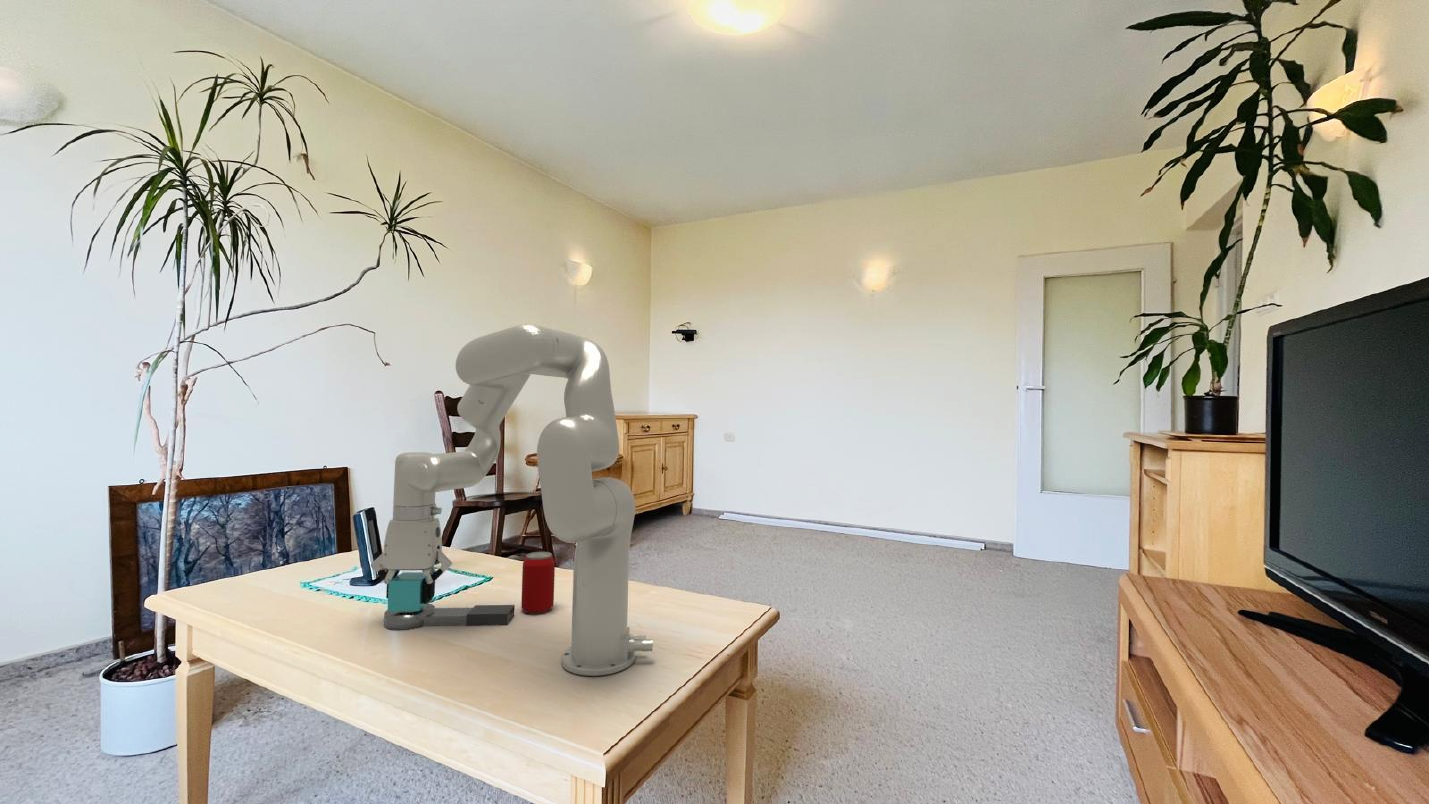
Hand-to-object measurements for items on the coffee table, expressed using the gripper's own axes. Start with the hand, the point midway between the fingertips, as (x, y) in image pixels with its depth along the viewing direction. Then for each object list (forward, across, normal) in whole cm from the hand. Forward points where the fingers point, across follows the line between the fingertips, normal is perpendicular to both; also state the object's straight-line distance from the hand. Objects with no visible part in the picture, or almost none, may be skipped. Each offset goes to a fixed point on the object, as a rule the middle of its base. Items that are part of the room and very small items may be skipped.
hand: (410, 601), depth 111 cm
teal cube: (+1, 0, 0) cm, 1 cm away
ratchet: (+4, -7, 0) cm, 8 cm away
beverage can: (+4, -24, -6) cm, 25 cm away
